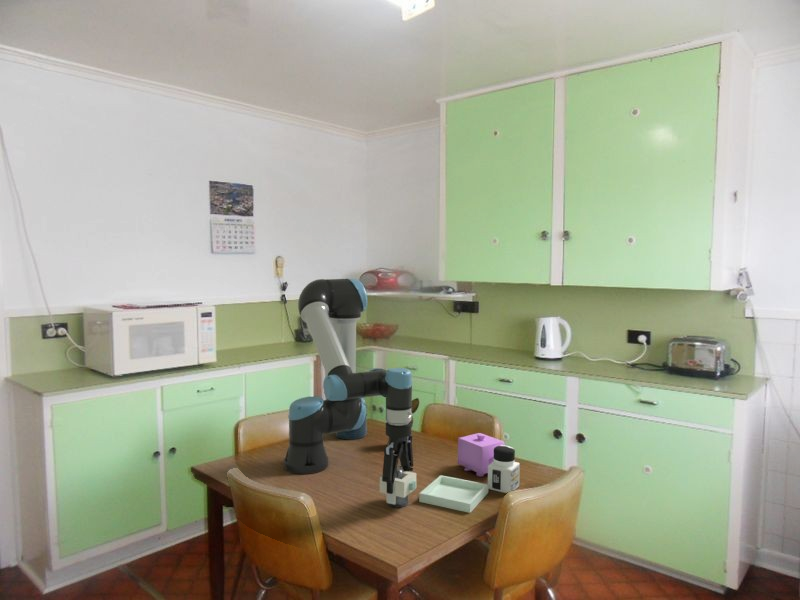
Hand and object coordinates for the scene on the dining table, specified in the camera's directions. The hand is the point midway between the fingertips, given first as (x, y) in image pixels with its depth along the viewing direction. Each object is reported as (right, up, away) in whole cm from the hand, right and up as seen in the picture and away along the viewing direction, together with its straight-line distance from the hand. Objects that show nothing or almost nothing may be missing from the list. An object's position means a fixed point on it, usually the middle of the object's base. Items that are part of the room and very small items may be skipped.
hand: (398, 497), depth 169 cm
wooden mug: (+2, +2, +52) cm, 52 cm away
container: (+33, -1, +12) cm, 35 cm away
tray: (+17, -1, +5) cm, 18 cm away
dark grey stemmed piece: (0, -2, 0) cm, 2 cm away
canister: (-19, +3, +65) cm, 68 cm away
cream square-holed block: (0, +2, 0) cm, 2 cm away
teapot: (+29, 0, +26) cm, 39 cm away
